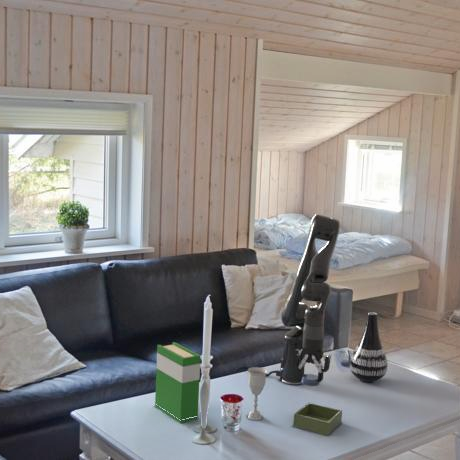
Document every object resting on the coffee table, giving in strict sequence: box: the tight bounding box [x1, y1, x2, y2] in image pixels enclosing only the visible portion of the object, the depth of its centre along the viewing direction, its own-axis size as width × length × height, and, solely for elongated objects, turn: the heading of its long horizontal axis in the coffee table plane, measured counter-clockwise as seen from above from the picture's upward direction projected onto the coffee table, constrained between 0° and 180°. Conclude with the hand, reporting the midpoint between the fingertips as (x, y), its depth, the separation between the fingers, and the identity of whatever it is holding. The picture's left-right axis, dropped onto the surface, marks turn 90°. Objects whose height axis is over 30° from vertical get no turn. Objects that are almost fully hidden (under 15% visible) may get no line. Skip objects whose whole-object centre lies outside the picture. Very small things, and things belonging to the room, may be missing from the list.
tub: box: [292, 402, 343, 436], centre depth 283 cm, size 13×13×5 cm
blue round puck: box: [301, 373, 320, 387], centre depth 286 cm, size 6×6×2 cm
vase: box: [349, 311, 389, 384], centre depth 331 cm, size 16×16×30 cm
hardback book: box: [154, 341, 202, 424], centre depth 286 cm, size 18×7×24 cm, turn 37°
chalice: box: [247, 366, 268, 421], centre depth 286 cm, size 7×7×18 cm
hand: (310, 379), depth 286 cm, fingers closed on blue round puck, 6 cm apart
